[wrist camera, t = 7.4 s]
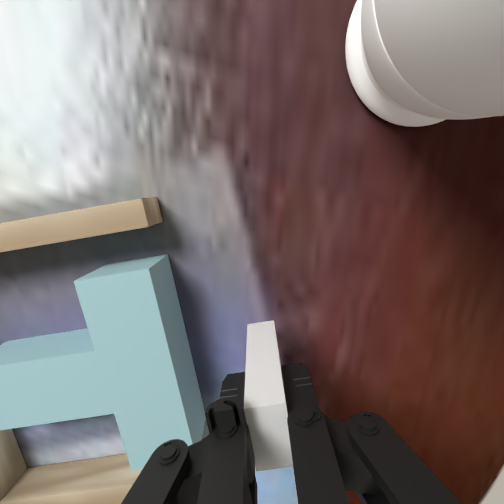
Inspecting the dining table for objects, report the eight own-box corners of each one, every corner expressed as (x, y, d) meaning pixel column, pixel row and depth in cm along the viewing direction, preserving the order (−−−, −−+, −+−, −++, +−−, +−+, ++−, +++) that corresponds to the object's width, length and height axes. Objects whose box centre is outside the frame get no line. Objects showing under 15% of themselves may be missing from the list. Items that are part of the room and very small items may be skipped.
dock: (-79, 238, 19) (-129, 246, 16) (156, 197, 18) (141, 198, 16) (20, 486, 22) (-8, 522, 20) (217, 458, 22) (212, 492, 19)
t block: (-15, 285, 19) (-72, 305, 16) (167, 254, 19) (148, 268, 15) (43, 441, 22) (4, 488, 18) (206, 417, 21) (196, 461, 18)
